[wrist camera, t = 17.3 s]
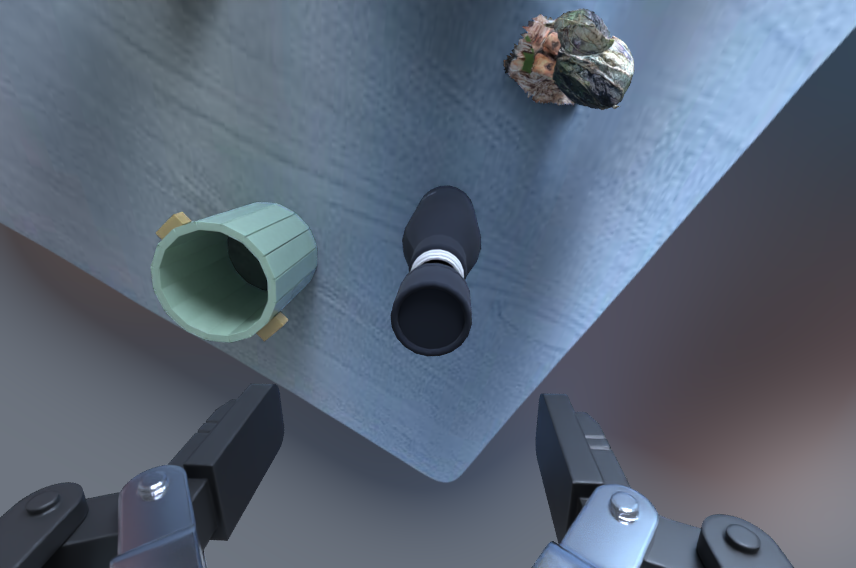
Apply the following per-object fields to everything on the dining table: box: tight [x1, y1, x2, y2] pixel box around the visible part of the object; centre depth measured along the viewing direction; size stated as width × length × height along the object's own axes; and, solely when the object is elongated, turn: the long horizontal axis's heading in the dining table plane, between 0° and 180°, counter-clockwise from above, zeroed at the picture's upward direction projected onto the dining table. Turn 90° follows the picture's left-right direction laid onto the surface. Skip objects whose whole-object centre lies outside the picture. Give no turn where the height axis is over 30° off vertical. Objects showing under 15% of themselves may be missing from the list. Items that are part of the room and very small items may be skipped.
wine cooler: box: [151, 202, 317, 343], centre depth 45 cm, size 12×14×12 cm
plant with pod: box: [504, 9, 634, 110], centre depth 34 cm, size 8×11×20 cm
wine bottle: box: [391, 186, 481, 356], centre depth 34 cm, size 6×6×30 cm
